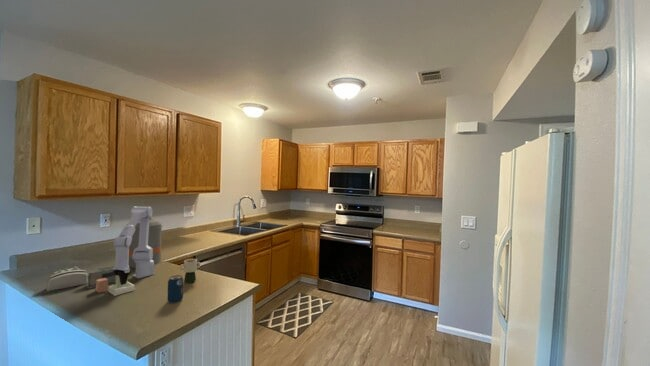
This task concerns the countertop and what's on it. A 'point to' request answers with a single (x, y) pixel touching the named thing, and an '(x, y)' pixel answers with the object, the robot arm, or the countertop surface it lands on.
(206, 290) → the countertop surface
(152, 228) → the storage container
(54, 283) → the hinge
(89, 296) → the countertop surface
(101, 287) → the terracotta block
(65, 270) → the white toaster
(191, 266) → the character mug
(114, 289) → the off-white tray
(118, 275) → the sage green block
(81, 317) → the countertop surface
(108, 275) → the grey unit
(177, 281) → the soda can
